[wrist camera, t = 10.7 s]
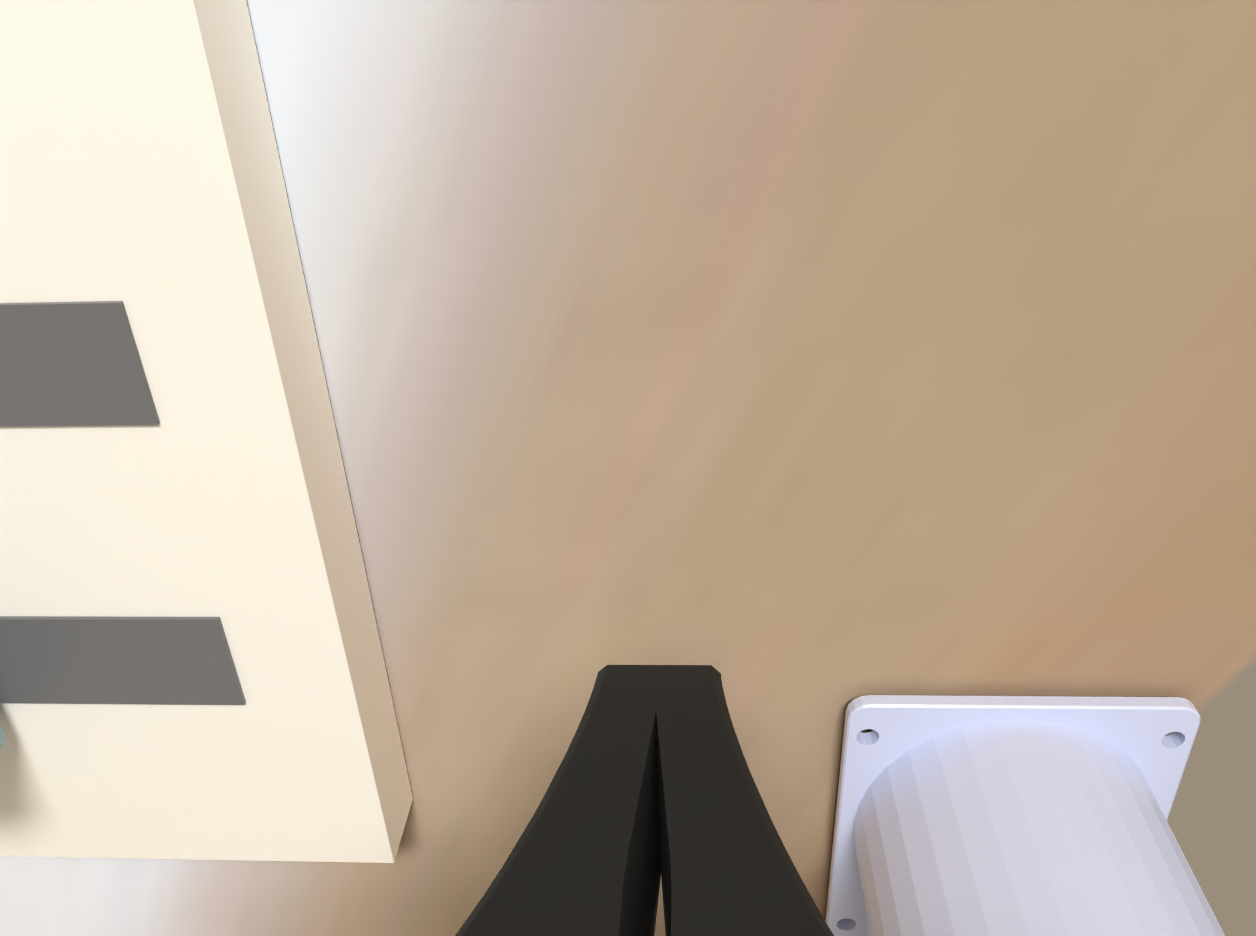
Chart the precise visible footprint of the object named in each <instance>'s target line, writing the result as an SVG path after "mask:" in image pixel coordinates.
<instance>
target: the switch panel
mask: <svg viewBox="0 0 1256 936" xmlns="http://www.w3.org/2000/svg"><path fill="white" fill-rule="evenodd" d="M0 724H1V726H2V728H3V730H4V733H5V735H6V737H7V741H6V742H5V743H4V744H3V746H2V747H1V748H0V856H34V857H90V858H147V859H203V860H259V861H315V862H371V863H394V861H395V858H396V855H397V851H398V848H399V844H400V841H401V838H402V834H403V831H404V828H405V824H406V821H407V817H408V814H409V811H410V807H411V804H412V801H413V797H412V792H411V787H410V782H409V777H408V773H407V768H406V763H405V758H404V753H403V749H402V744H401V739H400V734H399V729H398V725H397V720H396V715H395V710H394V705H393V701H392V696H391V691H390V686H389V681H388V677H387V672H386V667H385V662H384V658H383V653H382V648H381V643H380V638H379V634H378V629H377V624H376V619H375V614H374V610H373V605H372V600H371V595H370V590H369V586H368V581H367V576H366V571H365V566H364V562H363V557H362V552H361V547H360V542H359V538H358V533H357V528H356V523H355V518H354V514H353V509H352V504H351V499H350V494H349V490H348V485H347V480H346V475H345V471H344V466H343V461H342V456H341V451H340V447H339V442H338V437H337V432H336V427H335V423H334V418H333V413H332V408H331V403H330V399H329V394H328V389H327V384H326V379H325V375H324V370H323V365H322V360H321V355H320V351H319V346H318V341H317V336H316V331H315V327H314V322H313V317H312V312H311V307H310V303H309V298H308V293H307V288H306V284H305V279H304V274H303V269H302V264H301V260H300V255H299V250H298V245H297V240H296V236H295V231H294V226H293V221H292V216H291V212H290V207H289V202H288V197H287V192H286V188H285V183H284V178H283V173H282V168H281V164H280V159H279V154H278V149H277V144H276V140H275V135H274V130H273V125H272V120H271V116H270V111H269V106H268V101H267V97H266V92H265V87H264V82H263V77H262V73H261V68H260V63H259V58H258V53H257V49H256V44H255V39H254V34H253V29H252V25H251V20H250V15H249V10H248V5H247V1H246V0H0Z"/></svg>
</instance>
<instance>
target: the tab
mask: <svg viewBox="0 0 1256 936" xmlns="http://www.w3.org/2000/svg"><path fill="white" fill-rule="evenodd" d="M6 741H7V737H6V735H5V733H4V730H3V728H2V726H1V724H0V748H1V747H2V746H3V744H4V743H5V742H6Z"/></svg>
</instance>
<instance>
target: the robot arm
mask: <svg viewBox="0 0 1256 936" xmlns="http://www.w3.org/2000/svg"><path fill="white" fill-rule="evenodd" d="M1199 724H1200V715H1199V714H1198V712H1197V710H1196V709H1195V707H1194V705H1193V704H1192V702H1190V701H1189V700H1187V699H1185V698H1178V697H1064V696H922V695H866V696H860V697H858V698H856V699H854V700H852V701H851V702H850V703H849V704H848V706H847V709H846V714H845V725H844V735H843V745H842V756H841V766H840V776H839V787H838V797H837V807H836V818H835V828H834V838H833V849H832V859H831V869H830V880H829V890H828V900H827V911H826V921H825V920H824V918H823V916H822V915H821V913H820V911H819V910H818V908H817V906H816V904H815V903H814V901H813V899H812V897H811V896H810V894H809V892H808V890H807V888H806V887H805V885H804V883H803V881H802V879H801V877H800V876H799V874H798V872H797V870H796V868H795V866H794V864H793V862H792V860H791V858H790V857H789V855H788V853H787V851H786V849H785V847H784V845H783V843H782V841H781V839H780V837H779V835H778V833H777V831H776V829H775V827H774V825H773V823H772V820H771V818H770V816H769V814H768V812H767V809H766V807H765V805H764V803H763V800H762V798H761V796H760V794H759V791H758V789H757V787H756V785H755V782H754V780H753V778H752V776H751V773H750V771H749V768H748V766H747V763H746V761H745V758H744V756H743V753H742V750H741V747H740V745H739V742H738V739H737V736H736V733H735V731H734V728H733V724H732V721H731V718H730V715H729V711H728V708H727V704H726V700H725V696H724V692H723V687H722V681H721V673H719V672H718V671H717V670H716V669H715V668H714V667H712V666H711V665H607V666H606V667H604V668H603V669H602V670H601V671H599V672H598V675H597V678H596V682H595V685H594V688H593V691H592V694H591V697H590V700H589V702H588V705H587V708H586V710H585V713H584V715H583V717H582V720H581V722H580V724H579V727H578V729H577V731H576V733H575V736H574V738H573V740H572V742H571V744H570V746H569V749H568V751H567V753H566V755H565V757H564V759H563V761H562V763H561V765H560V767H559V769H558V770H557V772H556V774H555V776H554V778H553V780H552V782H551V784H550V786H549V788H548V790H547V792H546V794H545V796H544V797H543V799H542V801H541V803H540V805H539V807H538V808H537V810H536V812H535V814H534V816H533V817H532V819H531V821H530V822H529V824H528V825H527V827H526V829H525V830H524V832H523V834H522V835H521V837H520V839H519V840H518V842H517V844H516V845H515V847H514V849H513V850H512V852H511V854H510V855H509V857H508V859H507V860H506V862H505V864H504V865H503V867H502V869H501V870H500V872H499V873H498V875H497V876H496V878H495V879H494V881H493V882H492V884H491V885H490V887H489V888H488V890H487V891H486V893H485V894H484V896H483V897H482V899H481V900H480V902H479V903H478V905H477V906H476V907H475V909H474V910H473V912H472V913H471V915H470V916H469V917H468V919H467V920H466V922H465V923H464V924H463V926H462V927H461V928H460V930H459V931H458V933H457V934H456V935H455V936H654V932H655V923H656V914H657V905H658V896H659V887H660V878H661V876H662V890H663V904H664V917H665V931H666V936H1225V935H1224V933H1223V931H1222V929H1221V927H1220V925H1219V923H1218V922H1217V919H1216V917H1215V915H1214V913H1213V911H1212V909H1211V908H1210V906H1209V904H1208V902H1207V900H1206V898H1205V896H1204V894H1203V892H1202V890H1201V888H1200V886H1199V884H1198V882H1197V880H1196V878H1195V876H1194V874H1193V872H1192V870H1191V868H1190V866H1189V864H1188V862H1187V860H1186V858H1185V856H1184V854H1183V852H1182V850H1181V848H1180V846H1179V844H1178V842H1177V840H1176V838H1175V836H1174V834H1173V833H1172V831H1171V829H1170V827H1169V825H1168V823H1167V819H1168V816H1169V812H1170V809H1171V807H1172V804H1173V801H1174V798H1175V795H1176V792H1177V789H1178V786H1179V783H1180V780H1181V777H1182V774H1183V771H1184V768H1185V766H1186V763H1187V760H1188V756H1189V754H1190V751H1191V748H1192V745H1193V742H1194V739H1195V736H1196V733H1197V730H1198V727H1199ZM865 729H872V731H871V732H867V733H861V732H860V731H862V730H865ZM1171 732H1174V733H1172V734H1170V735H1166V734H1168V733H1171ZM1165 735H1166V736H1165Z"/></svg>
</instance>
